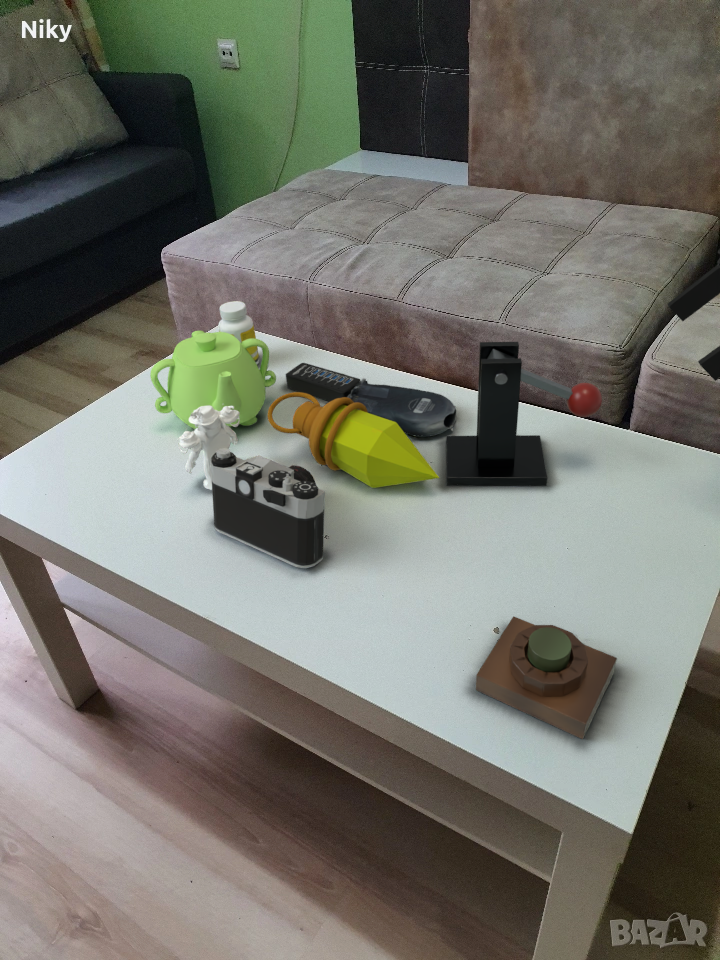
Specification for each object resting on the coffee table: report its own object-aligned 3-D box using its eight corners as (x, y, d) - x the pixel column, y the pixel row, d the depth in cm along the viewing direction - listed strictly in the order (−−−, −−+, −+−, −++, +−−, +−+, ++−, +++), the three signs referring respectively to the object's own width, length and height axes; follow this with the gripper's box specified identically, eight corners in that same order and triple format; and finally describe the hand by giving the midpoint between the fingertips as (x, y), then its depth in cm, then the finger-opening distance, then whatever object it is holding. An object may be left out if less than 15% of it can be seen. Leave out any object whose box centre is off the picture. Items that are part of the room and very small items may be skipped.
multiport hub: (345, 406, 108) (344, 392, 107) (286, 387, 113) (284, 374, 112) (362, 392, 111) (361, 378, 109) (304, 374, 116) (302, 361, 115)
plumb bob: (458, 474, 95) (297, 404, 104) (459, 427, 87) (287, 356, 97) (421, 527, 90) (258, 449, 100) (419, 481, 83) (243, 402, 93)
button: (575, 650, 67) (577, 637, 66) (560, 679, 64) (562, 665, 63) (537, 634, 68) (538, 621, 67) (520, 662, 66) (522, 649, 65)
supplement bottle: (259, 353, 123) (250, 297, 117) (260, 369, 118) (250, 311, 112) (226, 357, 122) (215, 301, 116) (225, 373, 118) (214, 316, 112)
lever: (587, 409, 91) (605, 383, 89) (592, 428, 88) (611, 401, 86) (479, 367, 89) (495, 339, 87) (481, 384, 86) (497, 355, 84)
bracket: (539, 443, 98) (550, 332, 88) (546, 486, 91) (559, 371, 81) (446, 443, 99) (446, 334, 90) (446, 485, 92) (447, 372, 83)
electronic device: (341, 437, 104) (444, 443, 98) (335, 400, 102) (440, 403, 96) (368, 410, 112) (465, 414, 105) (363, 375, 109) (462, 377, 103)
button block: (613, 673, 69) (620, 644, 66) (582, 739, 64) (588, 711, 61) (511, 631, 74) (514, 602, 71) (475, 690, 68) (476, 661, 66)
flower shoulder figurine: (204, 504, 92) (184, 422, 85) (183, 493, 94) (161, 412, 87) (255, 467, 98) (240, 387, 90) (234, 458, 100) (218, 378, 92)
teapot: (300, 404, 109) (289, 324, 102) (242, 456, 100) (226, 373, 92) (211, 382, 116) (196, 306, 108) (150, 429, 106) (128, 349, 99)
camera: (358, 533, 88) (361, 456, 83) (301, 576, 80) (301, 494, 75) (262, 494, 95) (260, 421, 90) (201, 530, 87) (195, 453, 82)
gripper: (976, 273, 63) (744, 423, 74) (851, 182, 83) (682, 312, 94) (933, 211, 61) (699, 376, 71) (814, 133, 80) (645, 272, 91)
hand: (689, 340), depth 83 cm, fingers open, 13 cm apart
